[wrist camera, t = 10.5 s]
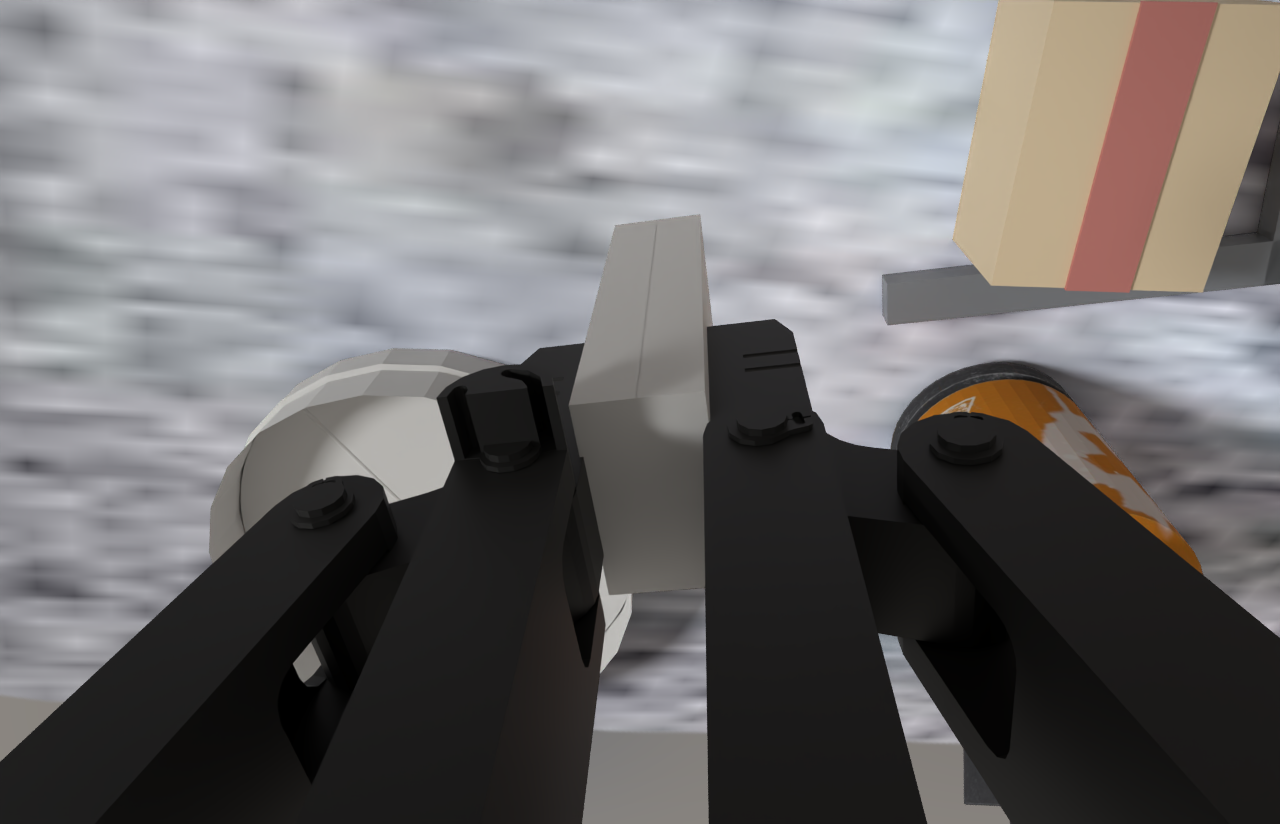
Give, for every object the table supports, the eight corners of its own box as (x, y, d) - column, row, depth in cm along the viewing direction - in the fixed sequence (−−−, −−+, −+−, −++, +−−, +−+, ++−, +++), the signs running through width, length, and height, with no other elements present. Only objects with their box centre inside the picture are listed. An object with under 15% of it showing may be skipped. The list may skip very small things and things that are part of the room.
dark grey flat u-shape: (876, -267, 30) (883, -275, 29) (1444, -374, 28) (1473, -385, 27) (882, 315, 40) (887, 325, 39) (1296, 270, 38) (1313, 280, 37)
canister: (1112, 416, 42) (1404, 755, 25) (956, 562, 47) (1108, 932, 30) (973, 322, 40) (1183, 618, 23) (825, 484, 45) (905, 831, 28)
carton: (999, -11, 34) (1056, -1, 28) (1208, -8, 34) (1306, 4, 28) (951, 239, 39) (991, 288, 33) (1133, 244, 38) (1204, 295, 33)
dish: (721, 564, 49) (723, 626, 44) (440, 716, 56) (418, 782, 52) (453, 258, 41) (424, 297, 36) (167, 483, 48) (115, 537, 44)
